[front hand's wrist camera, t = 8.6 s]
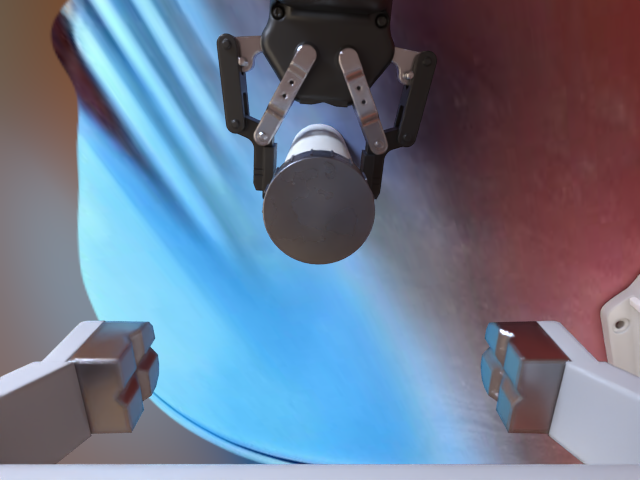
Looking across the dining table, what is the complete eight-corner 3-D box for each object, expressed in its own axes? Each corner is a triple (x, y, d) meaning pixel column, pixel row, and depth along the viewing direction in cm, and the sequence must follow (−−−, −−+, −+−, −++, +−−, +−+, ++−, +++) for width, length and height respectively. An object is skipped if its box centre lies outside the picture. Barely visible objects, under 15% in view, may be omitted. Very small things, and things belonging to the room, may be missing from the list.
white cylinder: (351, 128, 35) (376, 169, 20) (341, 183, 37) (358, 262, 21) (295, 119, 35) (275, 154, 20) (287, 175, 37) (264, 248, 21)
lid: (381, 157, 21) (387, 165, 19) (361, 256, 23) (364, 273, 21) (273, 140, 21) (268, 146, 19) (261, 242, 23) (255, 257, 21)
